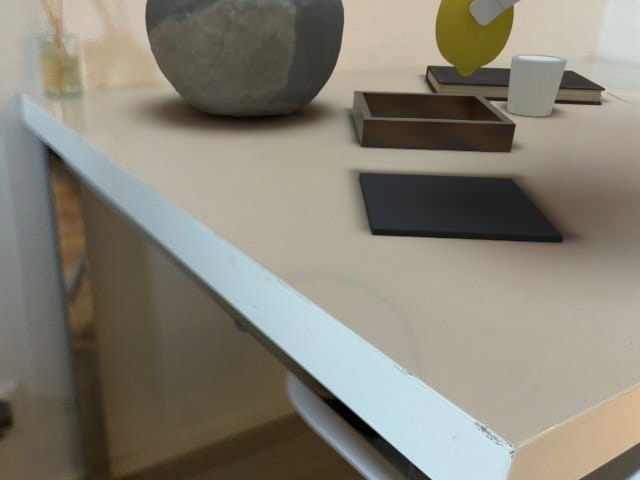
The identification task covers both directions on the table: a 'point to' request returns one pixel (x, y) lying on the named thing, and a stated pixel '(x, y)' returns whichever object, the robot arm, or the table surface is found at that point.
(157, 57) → the bowl
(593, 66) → the table surface
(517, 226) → the pad
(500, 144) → the tray
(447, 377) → the table surface
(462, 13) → the lemon
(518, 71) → the white cup
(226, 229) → the table surface
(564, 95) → the hardcover book
